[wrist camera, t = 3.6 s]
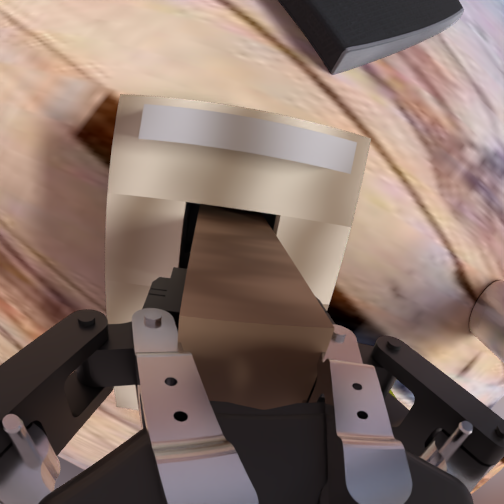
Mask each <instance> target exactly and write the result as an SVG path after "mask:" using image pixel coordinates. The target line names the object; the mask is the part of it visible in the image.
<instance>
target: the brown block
mask: <svg viewBox="0 0 504 504" xmlns="http://www.w3.org/2000/svg"><path fill="white" fill-rule="evenodd" d="M334 329H335V328H334V326H333V324H332V323H331V321H330V319H329V318H328V316H327V315H326V313H325V311H324V310H323V308H322V307H321V305H320V303H319V302H318V300H317V299H316V297H315V295H314V294H313V292H312V291H311V289H310V288H309V286H308V284H307V283H306V281H305V280H304V278H303V277H302V275H301V273H300V272H299V270H298V269H297V267H296V266H295V264H294V262H293V261H292V259H291V258H290V256H289V255H288V253H287V252H286V250H285V248H284V247H283V245H282V244H281V242H280V241H279V239H278V238H277V236H276V235H275V233H274V232H273V230H272V228H271V227H270V225H269V224H268V222H267V221H266V219H265V218H264V216H263V215H262V213H261V212H256V211H249V210H242V209H235V208H228V207H221V206H213V205H206V204H200V208H199V212H198V217H197V222H196V227H195V232H194V237H193V242H192V247H191V252H190V257H189V263H188V268H187V274H186V279H185V285H184V291H183V296H182V302H181V308H180V315H179V327H178V342H181V344H182V347H183V350H184V351H190V352H191V354H192V356H193V359H194V362H195V365H196V367H197V370H198V373H199V375H200V378H201V381H202V383H203V386H204V389H205V391H206V394H207V396H208V399H209V401H222V402H230V403H234V404H238V405H243V406H247V407H252V408H257V409H262V410H266V409H272V408H277V407H282V406H286V405H291V404H295V403H302V401H303V400H307V399H308V397H309V395H310V392H311V390H312V387H313V385H314V382H315V380H316V377H317V363H318V360H319V357H320V355H321V352H326V351H327V349H328V346H329V343H330V340H331V338H332V335H333V332H334Z"/></svg>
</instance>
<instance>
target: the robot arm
mask: <svg viewBox="0 0 504 504" xmlns="http://www.w3.org/2000/svg"><path fill="white" fill-rule="evenodd" d="M186 274H187V269H184V268H176V267H173V270H172V274H171V277H170V278H165V277H159V278H157V279H156V280H154V281H153V282H152V284H151V287H150V290H149V292H148V295H147V298H146V300H145V303H144V306H143V308H142V309H141V310H138V311H136V312H135V313H134V314H133V315H132V321H131V322H127V323H122V324H108V320H107V317H106V316H105V315H104V314H102V313H101V312H98V311H95V310H79V311H76V312H74V313H72V314H70V315H69V316H67V317H66V318H65V319H63V320H62V321H60V322H59V323H57V324H56V325H55V326H53V327H52V328H50V329H49V330H48V331H46V332H45V333H44V334H42V335H41V336H39V337H38V338H37V339H35V340H34V341H33V342H31V343H30V344H28V345H27V346H26V347H24V348H23V349H22V350H20V351H19V352H18V353H16V354H15V355H14V356H12V357H11V358H10V359H8V360H7V361H6V362H4V363H3V364H2V365H0V503H1V504H473V499H472V496H471V494H470V492H471V491H472V490H473V488H474V487H475V486H476V485H477V483H478V482H479V481H480V480H481V479H482V478H483V477H484V476H485V475H486V474H487V473H488V472H489V471H490V470H491V469H492V468H493V467H494V466H495V465H496V464H497V463H498V462H499V461H500V460H501V459H502V458H503V457H504V420H503V419H502V418H500V417H499V416H498V415H497V414H495V413H494V412H493V411H492V410H491V409H489V408H488V407H487V406H485V405H484V404H483V403H482V402H480V401H479V400H478V399H477V398H475V397H474V396H473V395H471V394H470V393H469V392H468V391H466V390H465V389H464V388H462V387H461V386H460V385H459V384H457V383H456V382H455V381H453V380H452V379H451V378H450V377H448V376H447V375H446V374H444V373H443V372H442V371H440V370H439V369H438V368H437V367H435V366H434V365H433V364H431V363H430V362H429V361H427V360H426V359H425V358H424V357H422V356H421V355H420V354H418V353H417V352H416V351H414V350H413V349H412V348H410V347H409V346H408V345H406V344H405V343H404V342H402V341H401V340H399V339H397V338H394V337H390V336H381V337H379V338H378V339H377V340H376V343H375V345H374V346H370V345H365V344H360V343H357V339H356V336H355V335H354V333H353V332H351V331H350V330H349V329H347V328H345V327H343V326H339V325H335V323H334V322H333V320H332V318H331V317H330V315H329V314H328V313H327V311H326V309H325V307H324V306H323V304H322V303H321V301H320V300H319V299H318V298H317V297H316V299H317V300H318V302H319V303H320V305H321V307H322V308H323V310H324V311H325V313H326V315H327V316H328V318H329V319H330V321H331V323H332V324H333V326H334V328H335V329H334V332H333V335H332V338H331V340H330V343H329V346H328V349H327V351H326V352H321V355H320V357H319V360H318V363H317V377H316V380H315V382H314V385H313V387H312V390H311V392H310V395H309V397H308V399H307V400H303V401H302V403H295V404H291V405H286V406H282V407H277V408H272V409H266V410H262V409H257V408H252V407H247V406H243V405H238V404H234V403H230V402H222V401H209V399H208V396H207V394H206V391H205V389H204V386H203V383H202V381H201V378H200V375H199V373H198V370H197V367H196V365H195V362H194V359H193V356H192V354H191V352H190V351H184V350H183V347H182V344H181V342H178V327H179V315H180V308H181V302H182V296H183V291H184V285H185V279H186ZM469 327H470V331H471V333H473V334H474V335H475V336H476V337H477V338H478V339H479V340H480V341H481V342H482V343H483V344H484V345H485V346H486V347H487V348H488V349H490V350H491V351H492V352H493V353H494V354H495V355H496V356H497V357H498V358H499V359H500V360H501V361H502V362H503V363H504V281H501V280H499V281H495V282H494V283H492V284H491V285H489V286H488V287H487V288H486V289H485V290H484V292H483V293H482V294H481V296H480V297H479V299H478V300H477V302H476V304H475V306H474V308H473V311H472V313H471V317H470V323H469ZM73 371H74V372H73ZM72 372H73V373H72ZM71 373H72V374H71ZM70 374H71V375H70ZM69 375H70V376H69ZM68 376H69V377H68ZM396 379H397V380H399V381H400V382H401V383H402V384H403V385H404V386H406V387H407V388H408V389H409V390H410V391H411V392H412V393H413V394H414V397H415V402H414V405H413V406H412V408H411V409H410V411H409V410H408V409H407V408H406V407H405V406H404V405H403V404H402V403H400V402H399V401H398V400H397V399H396V398H395V397H394V396H393V395H392V394H390V393H389V391H390V389H391V388H392V386H393V384H394V382H395V380H396ZM127 385H135V389H136V396H137V403H138V409H139V415H140V422H141V429H142V430H140V431H139V432H138V433H136V434H135V435H134V436H132V437H131V438H130V439H128V440H127V441H126V442H124V443H123V444H121V445H120V446H119V447H117V448H116V449H115V450H113V451H112V452H110V453H109V454H107V455H106V456H105V457H103V458H102V459H100V460H99V461H98V462H96V463H95V464H93V465H92V466H90V467H89V468H87V469H86V470H84V471H83V472H81V473H80V474H78V475H77V476H75V477H74V478H72V479H71V480H70V481H68V482H67V483H65V484H63V485H62V486H60V487H59V488H57V489H55V490H54V485H55V482H56V479H57V478H58V476H59V473H60V463H59V460H58V458H57V455H58V454H59V453H60V452H61V450H62V449H63V448H64V447H65V446H66V444H67V443H68V442H69V441H70V440H71V439H72V437H73V436H74V435H75V434H76V433H77V431H78V430H79V429H80V428H81V427H82V426H83V424H84V423H85V422H86V421H87V420H88V419H89V417H90V416H91V415H92V414H93V413H94V412H95V410H96V409H97V408H98V407H99V406H100V405H101V403H102V402H103V401H104V400H105V399H106V398H107V396H108V395H109V394H110V393H111V392H112V390H113V388H114V386H127Z"/></svg>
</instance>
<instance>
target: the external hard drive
mask: <svg viewBox="0 0 504 504" xmlns="http://www.w3.org/2000/svg"><path fill="white" fill-rule="evenodd" d="M278 1H279V2H280V3H281V5H282V6H283V7H284V8H285V10H286V11H287V12H288V13H289V15H290V16H291V17H292V19H293V20H294V21H295V22H296V24H297V25H298V26H299V28H300V29H301V30H302V32H303V33H304V34H305V36H306V37H307V39H308V40H309V41H310V43H311V44H312V46H313V47H314V49H315V50H316V52H317V53H318V54H319V56H320V57H321V59H322V60H323V62H324V64H325V65H326V66H327V68H328V70H329V71H330V72H331V74H332V75H334V74H338V73H341V72H344V71H347V70H350V69H353V68H356V67H359V66H362V65H365V64H367V63H370V62H373V61H376V60H378V59H381V58H384V57H386V56H389V55H392V54H394V53H397V52H399V51H402V50H405V49H406V48H409V47H411V46H413V45H416V44H418V43H420V42H422V41H424V40H426V39H429V38H431V37H433V36H434V35H436V34H438V33H440V32H442V31H444V30H445V29H447V28H449V27H450V26H452V25H453V24H454V23H456V22H457V20H458V19H459V18H460V17H461V15H462V14H463V12H464V9H463V7H462V5H461V4H460V2H459V0H278Z"/></svg>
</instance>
